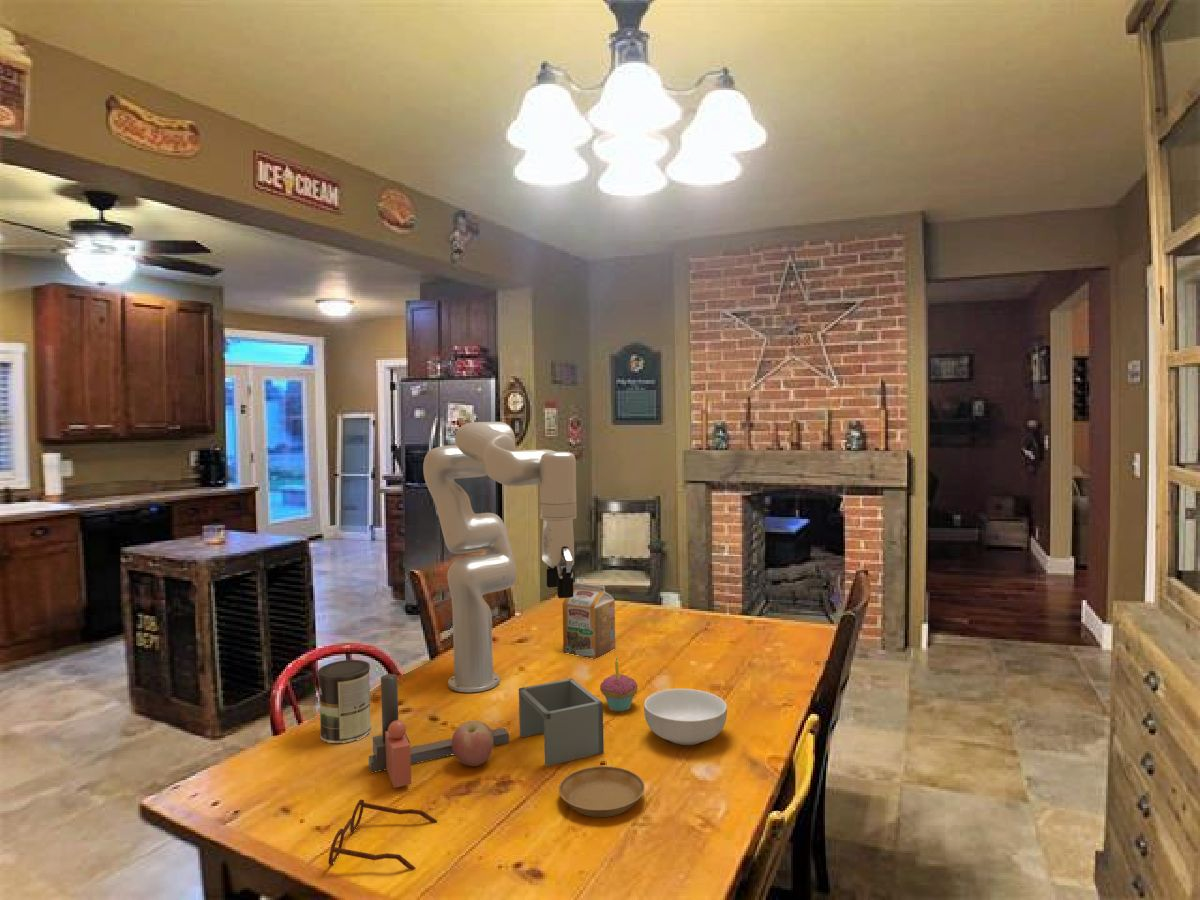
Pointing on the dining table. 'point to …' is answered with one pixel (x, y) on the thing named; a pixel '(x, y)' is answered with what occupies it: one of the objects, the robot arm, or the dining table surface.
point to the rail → (437, 750)
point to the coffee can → (344, 701)
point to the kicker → (393, 736)
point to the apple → (472, 743)
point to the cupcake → (619, 690)
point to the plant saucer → (601, 790)
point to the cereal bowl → (685, 715)
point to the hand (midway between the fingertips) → (559, 592)
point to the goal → (562, 720)
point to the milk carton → (588, 621)
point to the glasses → (352, 827)
